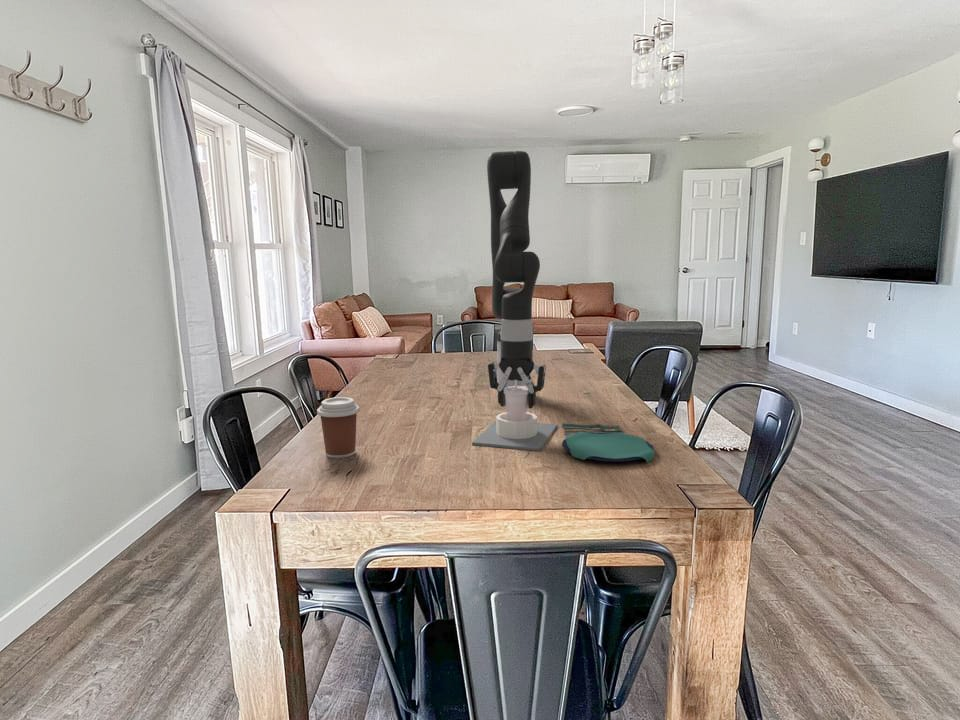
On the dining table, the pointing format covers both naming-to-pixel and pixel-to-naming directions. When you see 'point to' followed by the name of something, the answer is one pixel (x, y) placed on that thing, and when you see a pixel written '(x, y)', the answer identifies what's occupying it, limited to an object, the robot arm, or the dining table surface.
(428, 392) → the dining table surface
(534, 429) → the sleeve stand
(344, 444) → the coffee cup
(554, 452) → the dining table surface
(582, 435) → the cutlery set
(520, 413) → the smoothie
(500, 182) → the robot arm
